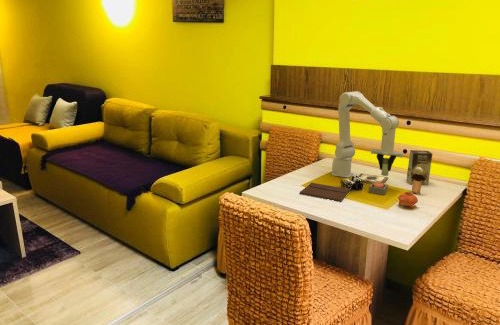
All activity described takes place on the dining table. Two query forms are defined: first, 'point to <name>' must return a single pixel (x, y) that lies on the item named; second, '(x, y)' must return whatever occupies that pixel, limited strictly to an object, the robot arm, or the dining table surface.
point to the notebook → (325, 192)
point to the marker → (385, 166)
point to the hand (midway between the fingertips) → (385, 169)
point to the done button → (378, 184)
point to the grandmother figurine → (417, 181)
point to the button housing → (378, 189)
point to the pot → (407, 199)
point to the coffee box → (419, 164)
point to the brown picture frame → (373, 178)
